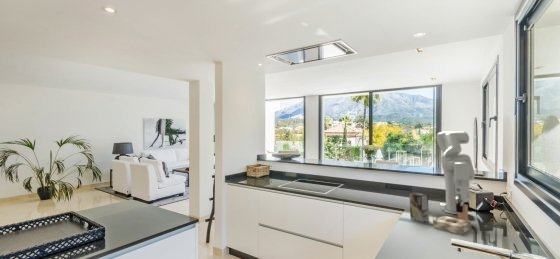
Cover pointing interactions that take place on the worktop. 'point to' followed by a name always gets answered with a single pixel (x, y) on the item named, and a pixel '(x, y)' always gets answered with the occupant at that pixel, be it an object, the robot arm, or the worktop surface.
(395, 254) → the worktop surface
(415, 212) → the coffee box
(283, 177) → the worktop surface
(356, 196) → the worktop surface
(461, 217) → the peg
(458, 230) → the socket
